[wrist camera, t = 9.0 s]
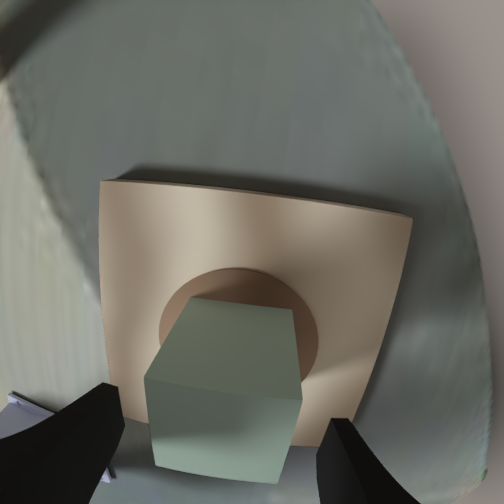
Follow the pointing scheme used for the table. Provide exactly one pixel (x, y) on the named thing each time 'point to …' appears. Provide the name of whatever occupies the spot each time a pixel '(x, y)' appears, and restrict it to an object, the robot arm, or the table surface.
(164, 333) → the display base
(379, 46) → the table surface
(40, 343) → the table surface
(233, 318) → the green block
